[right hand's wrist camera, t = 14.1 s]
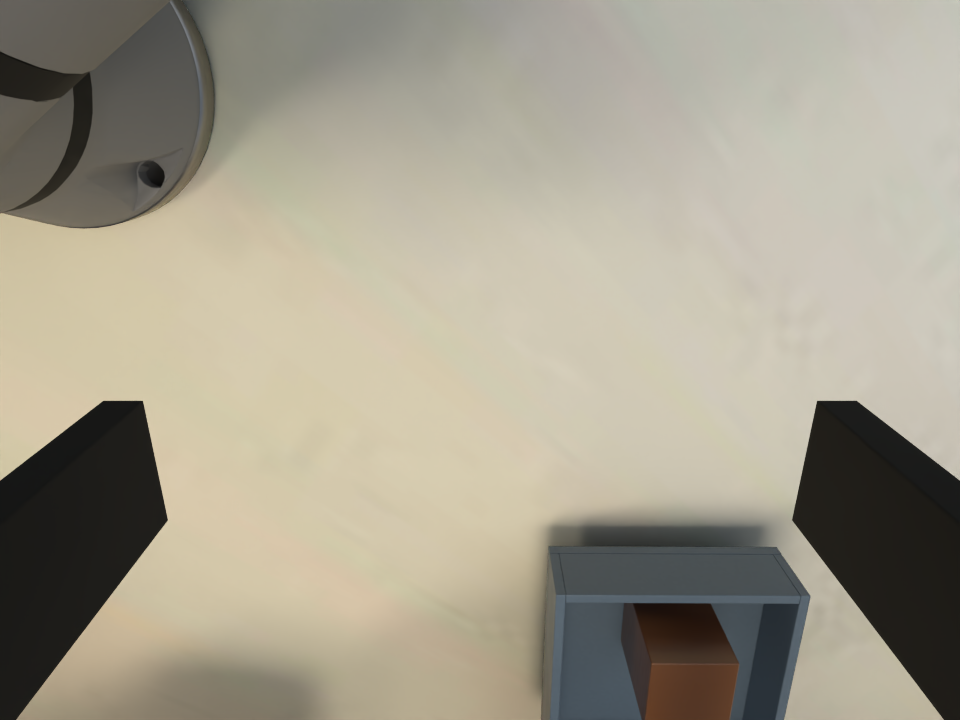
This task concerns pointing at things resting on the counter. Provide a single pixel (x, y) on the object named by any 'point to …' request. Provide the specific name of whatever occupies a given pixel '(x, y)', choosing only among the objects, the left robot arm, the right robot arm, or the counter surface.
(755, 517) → the counter surface
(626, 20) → the counter surface
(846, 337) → the counter surface
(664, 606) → the block
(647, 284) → the counter surface
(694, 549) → the tray
